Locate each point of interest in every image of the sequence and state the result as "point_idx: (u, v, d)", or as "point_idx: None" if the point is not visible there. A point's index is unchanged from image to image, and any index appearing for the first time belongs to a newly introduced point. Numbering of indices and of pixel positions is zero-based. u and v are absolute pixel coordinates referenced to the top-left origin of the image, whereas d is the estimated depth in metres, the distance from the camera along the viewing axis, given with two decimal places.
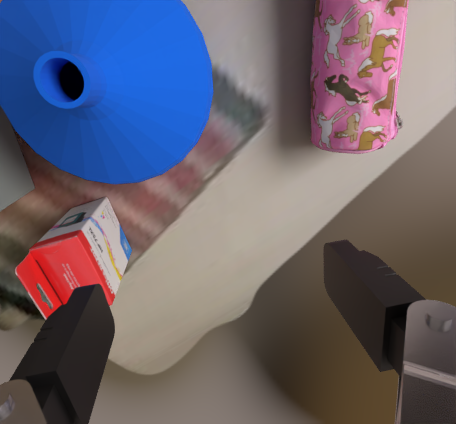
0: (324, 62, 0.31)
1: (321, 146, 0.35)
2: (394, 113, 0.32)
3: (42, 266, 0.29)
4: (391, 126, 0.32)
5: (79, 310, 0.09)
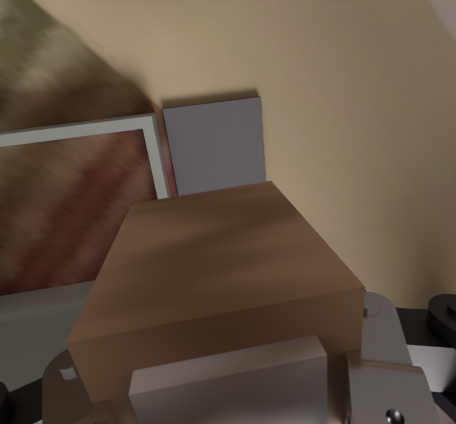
0: None
1: None
2: None
3: None
4: None
5: None
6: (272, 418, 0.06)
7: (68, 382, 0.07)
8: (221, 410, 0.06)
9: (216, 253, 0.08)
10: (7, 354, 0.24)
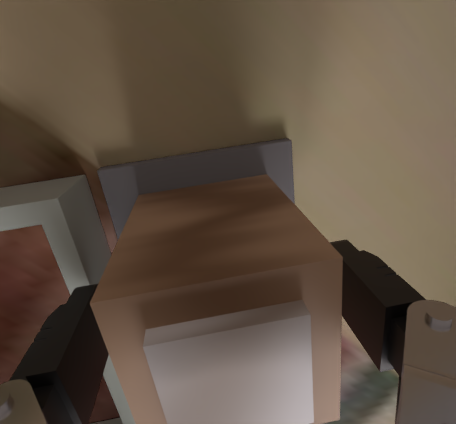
0: None
1: None
2: None
3: None
4: None
5: (79, 310, 0.09)
6: (264, 371, 0.07)
7: None
8: (221, 362, 0.07)
9: (216, 234, 0.09)
10: None
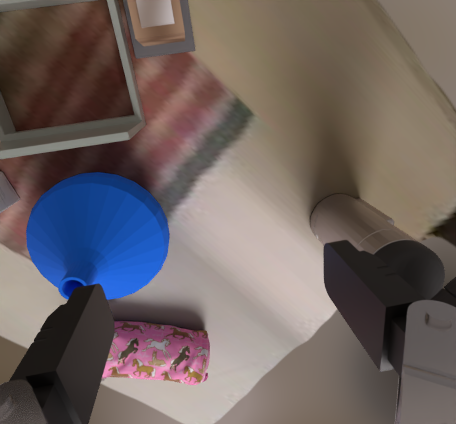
0: (147, 338, 0.53)
1: None
2: (107, 376, 0.52)
3: None
4: None
5: (79, 310, 0.09)
6: (159, 0, 0.33)
7: None
8: None
9: None
10: (22, 141, 0.37)
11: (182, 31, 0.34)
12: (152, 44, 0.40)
